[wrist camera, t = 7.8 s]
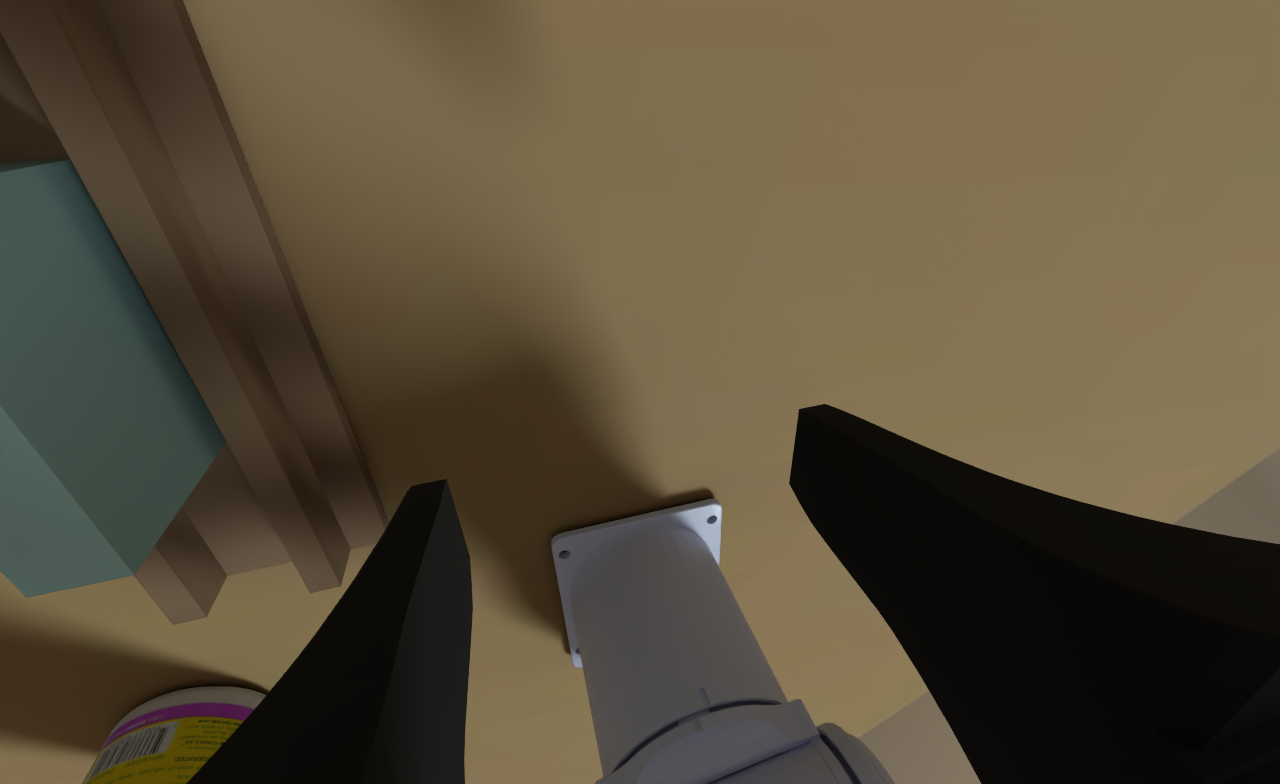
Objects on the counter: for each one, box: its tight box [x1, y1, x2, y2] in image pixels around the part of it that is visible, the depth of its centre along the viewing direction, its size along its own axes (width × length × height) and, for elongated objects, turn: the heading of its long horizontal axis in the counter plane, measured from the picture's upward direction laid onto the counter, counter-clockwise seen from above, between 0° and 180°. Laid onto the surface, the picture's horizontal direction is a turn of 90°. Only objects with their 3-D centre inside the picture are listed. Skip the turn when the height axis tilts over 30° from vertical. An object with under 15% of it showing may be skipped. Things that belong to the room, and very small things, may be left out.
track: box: [0, 0, 389, 625], centre depth 12 cm, size 21×8×7 cm, turn 2°
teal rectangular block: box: [0, 158, 226, 597], centre depth 12 cm, size 8×2×6 cm, turn 2°
